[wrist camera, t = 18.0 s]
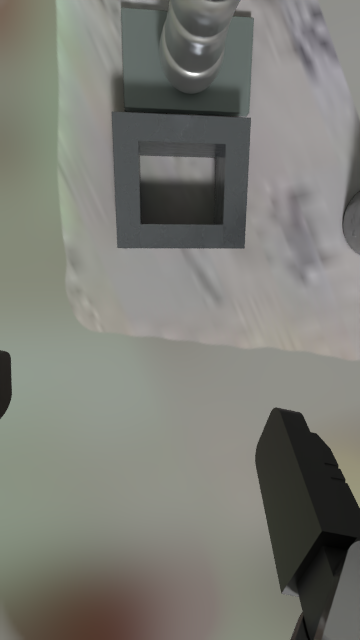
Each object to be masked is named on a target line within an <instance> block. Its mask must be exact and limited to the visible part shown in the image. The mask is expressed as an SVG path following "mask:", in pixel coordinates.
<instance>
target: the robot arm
mask: <svg viewBox="0 0 360 640" xmlns="http://www.w3.org/2000/svg"><path fill="white" fill-rule="evenodd" d="M343 230H344V236H345V238H346V241H347V243H348V244H349V246H350V247H351V248H352V249H353V250H354V251H355V252H356V253H358V254H360V192H358V193H357V194H356V195H355V196H354V198H353V199H352V200H351V202H350V203H349V205H348V207H347V209H346V212H345V216H344V220H343ZM11 395H12V386H11V357H10V354H9V353H8V352H5V351H1V350H0V419H1V417H2V416H3V415H4V414H5V412H6V410H7V408H8V406H9V404H10V401H11ZM255 462H256V469H257V474H258V478H259V484H260V489H261V494H262V499H263V504H264V509H265V514H266V519H267V524H268V529H269V533H270V539H271V543H272V548H273V554H274V559H275V564H276V569H277V574H278V578H279V584H280V589H281V593H282V594H287V595H292V596H297V597H299V598H300V602H301V606H302V610H303V612H302V613H301V615H300V617H299V618H298V621H297V623H296V626H295V629H294V631H293V634H292V637H291V639H290V640H360V508H359V506H358V504H357V502H356V500H355V498H354V496H353V494H352V492H351V490H350V488H349V486H348V484H347V483H345V478H344V476H343V474H342V472H341V470H340V469H338V464H337V461H336V459H335V457H334V455H333V453H332V451H331V449H330V448H329V447H328V446H327V445H326V444H325V442H324V441H323V440H322V439H321V438H320V437H319V436H318V435H317V434H316V433H311V432H310V430H309V428H308V426H307V423H306V421H305V419H304V417H303V415H302V414H301V413H300V412H295V411H291V410H286V409H281V408H274V409H273V410H272V411H271V413H270V416H269V418H268V420H267V423H266V425H265V427H264V430H263V432H262V435H261V437H260V439H259V442H258V444H257V449H256V455H255Z"/></svg>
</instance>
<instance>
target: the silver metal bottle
mask: <svg viewBox="0 0 360 640" xmlns="http://www.w3.org/2000/svg"><path fill="white" fill-rule="evenodd" d="M239 2H240V0H170V2H169V7H168V13H167V18H166V21H165V23H164V26H163V30H162V34H161V38H160V46H159V51H160V59H161V64H162V68H163V71H164V74H165V76H166V78H167V79H168V81H169V82H170V83H171V84H172V85H173V86H174V87H175V88H176V89H178V90H179V91H181V92H184V93H188V94H194V93H199V92H201V91H203V90H205V89H206V88H207V87H208V86H209V85H210V84H211V83H212V82H213V80H214V79H215V78H216V76H217V75H218V73H219V71H220V69H221V65H222V61H223V56H224V49H225V40H226V35H227V31H228V27H229V24H230V22H231V19H232V17H233V15H234V12H235V10H236V8H237V5H238V4H239Z"/></svg>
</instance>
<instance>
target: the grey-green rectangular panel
mask: <svg viewBox="0 0 360 640" xmlns="http://www.w3.org/2000/svg"><path fill="white" fill-rule="evenodd" d="M167 13H168V11H159V10H146V9H133V8H121V20H122V49H123V78H124V107H125V111H137V112H159V113H181V114H204V115H226V116H247V115H248V114H249V106H250V85H251V65H252V45H253V24H254V18H250V17H237V16H233V17H232V19H231V22H230V24H229V27H228V31H227V35H226V40H225V49H224V56H223V61H222V65H221V69H220V71H219V73H218V75H217V76H216V78H215V79H214V80H213V82H212V83H211V84H210V85H209V86H208V87H207V88H206V89H205V90H203V91H201V92H199V93H194V94H188V93H184V92H181V91H179V90H178V89H176V88H175V87H174V86H173V85H172V84H171V83H170V82H169V81H168V79H167V78H166V76H165V74H164V71H163V68H162V64H161V59H160V51H159V46H160V38H161V34H162V30H163V26H164V23H165V21H166V18H167Z"/></svg>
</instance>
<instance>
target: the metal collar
mask: <svg viewBox="0 0 360 640" xmlns="http://www.w3.org/2000/svg"><path fill="white" fill-rule="evenodd" d="M250 126H251V118H243V117H221V116H198V115H176V114H154V113H131V112H112V129H113V153H114V176H115V200H116V223H117V247H118V248H244V245H245V226H246V206H247V186H248V166H249V146H250ZM140 155H147V156H179V157H210V158H216V169H215V206H214V225H188V224H141V188H140Z"/></svg>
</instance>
